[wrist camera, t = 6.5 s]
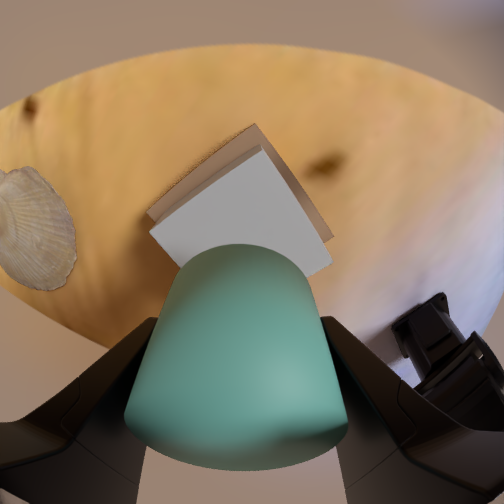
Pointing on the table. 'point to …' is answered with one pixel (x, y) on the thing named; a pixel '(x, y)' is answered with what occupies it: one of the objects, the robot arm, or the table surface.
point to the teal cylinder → (238, 367)
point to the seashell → (34, 231)
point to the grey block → (242, 216)
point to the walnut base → (227, 156)
